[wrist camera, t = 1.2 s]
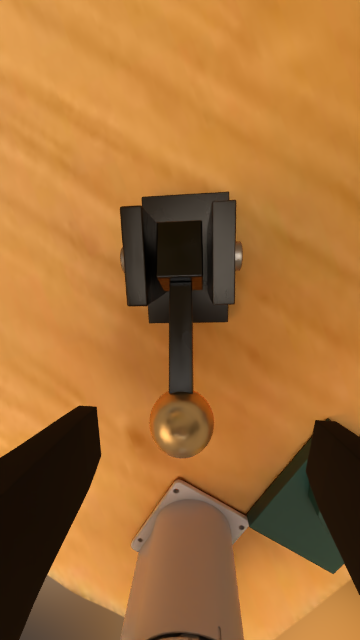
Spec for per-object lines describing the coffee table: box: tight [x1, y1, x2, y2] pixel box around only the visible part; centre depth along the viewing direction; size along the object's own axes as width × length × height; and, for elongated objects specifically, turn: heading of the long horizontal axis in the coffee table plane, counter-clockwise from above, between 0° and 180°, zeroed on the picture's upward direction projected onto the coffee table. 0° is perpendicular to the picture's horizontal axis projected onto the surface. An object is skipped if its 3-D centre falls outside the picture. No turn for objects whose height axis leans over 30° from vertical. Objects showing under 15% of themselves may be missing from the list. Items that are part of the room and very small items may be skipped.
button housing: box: [247, 419, 360, 574], centre depth 20 cm, size 12×9×3 cm
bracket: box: [120, 192, 243, 323], centre depth 14 cm, size 9×6×8 cm, turn 2°
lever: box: [149, 220, 214, 458], centre depth 12 cm, size 11×3×3 cm, turn 2°
